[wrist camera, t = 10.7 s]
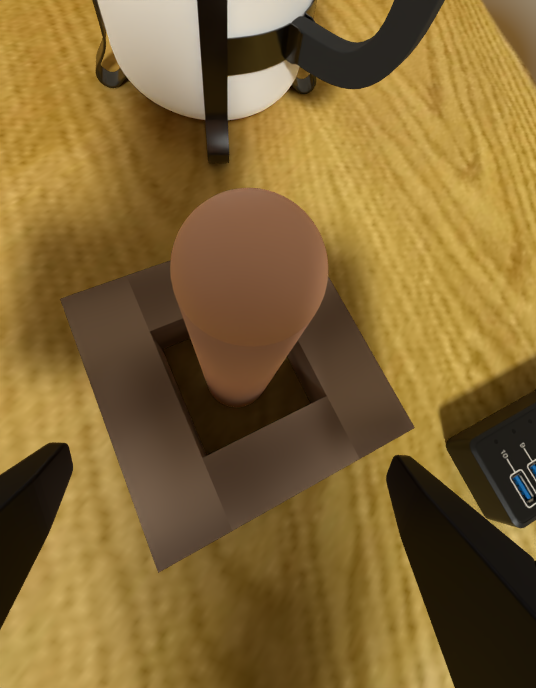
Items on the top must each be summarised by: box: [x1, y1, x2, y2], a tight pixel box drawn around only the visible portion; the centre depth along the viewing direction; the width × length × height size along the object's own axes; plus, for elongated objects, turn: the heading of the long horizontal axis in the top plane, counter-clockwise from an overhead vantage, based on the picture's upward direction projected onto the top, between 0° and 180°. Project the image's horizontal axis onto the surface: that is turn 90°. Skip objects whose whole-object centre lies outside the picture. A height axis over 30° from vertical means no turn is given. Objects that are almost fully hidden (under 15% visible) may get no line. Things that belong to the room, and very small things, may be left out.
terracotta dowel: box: [170, 188, 328, 407], centre depth 12 cm, size 3×3×13 cm
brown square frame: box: [60, 260, 415, 573], centre depth 16 cm, size 12×12×3 cm
